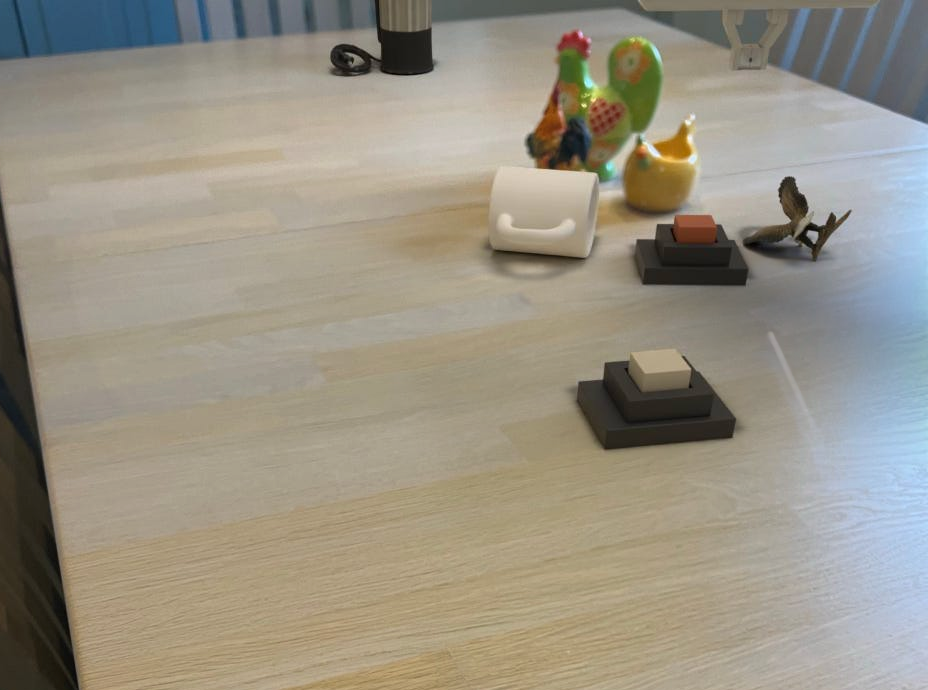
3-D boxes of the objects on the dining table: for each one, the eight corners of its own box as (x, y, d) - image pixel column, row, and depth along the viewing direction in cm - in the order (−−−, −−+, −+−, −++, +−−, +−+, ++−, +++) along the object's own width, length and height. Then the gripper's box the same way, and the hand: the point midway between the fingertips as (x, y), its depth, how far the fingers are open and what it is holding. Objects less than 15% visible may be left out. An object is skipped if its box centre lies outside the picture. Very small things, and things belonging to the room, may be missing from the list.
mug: (504, 234, 110) (506, 156, 105) (595, 242, 108) (602, 162, 103) (477, 275, 101) (478, 191, 96) (576, 284, 99) (582, 200, 94)
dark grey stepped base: (731, 256, 105) (737, 221, 102) (745, 286, 99) (752, 250, 96) (634, 255, 105) (638, 220, 103) (642, 285, 99) (646, 249, 97)
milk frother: (446, 68, 171) (445, -36, 162) (378, 85, 163) (373, -25, 153) (387, 56, 179) (383, -44, 169) (320, 72, 170) (311, -34, 160)
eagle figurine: (851, 237, 105) (782, 200, 109) (854, 189, 99) (781, 151, 103) (800, 290, 105) (733, 251, 109) (800, 244, 99) (729, 205, 103)
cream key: (672, 369, 78) (675, 348, 77) (688, 390, 75) (691, 369, 74) (627, 373, 78) (630, 351, 77) (641, 395, 75) (644, 373, 74)
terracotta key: (708, 232, 101) (711, 214, 100) (714, 245, 98) (717, 227, 97) (672, 232, 101) (674, 214, 100) (676, 245, 99) (679, 227, 97)
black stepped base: (695, 390, 82) (702, 349, 80) (732, 438, 76) (741, 396, 74) (576, 400, 81) (579, 359, 79) (604, 450, 75) (609, 408, 73)
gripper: (646, -125, 77) (629, 79, 86) (921, -132, 76) (875, 75, 85) (638, -131, 82) (623, 63, 91) (897, -137, 81) (855, 60, 90)
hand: (747, 69), depth 88 cm, fingers closed
